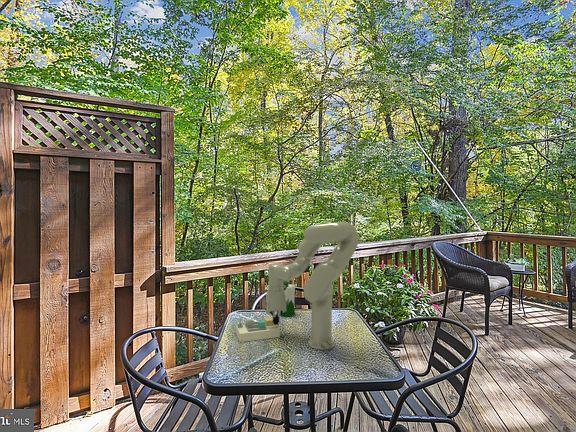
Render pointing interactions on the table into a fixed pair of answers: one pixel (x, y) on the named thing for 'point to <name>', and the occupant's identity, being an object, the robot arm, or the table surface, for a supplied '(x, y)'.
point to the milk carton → (289, 300)
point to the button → (269, 321)
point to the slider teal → (261, 324)
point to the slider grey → (249, 322)
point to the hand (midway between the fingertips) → (276, 323)
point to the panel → (256, 332)
